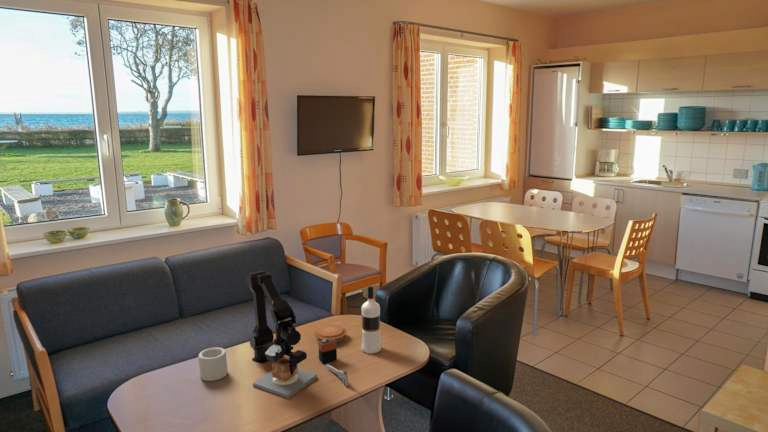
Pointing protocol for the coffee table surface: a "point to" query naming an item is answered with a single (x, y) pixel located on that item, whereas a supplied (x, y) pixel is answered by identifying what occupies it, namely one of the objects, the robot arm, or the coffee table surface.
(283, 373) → the collar
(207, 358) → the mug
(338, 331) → the pie
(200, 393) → the coffee table surface
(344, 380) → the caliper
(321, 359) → the battery
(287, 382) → the post board
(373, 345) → the vodka
